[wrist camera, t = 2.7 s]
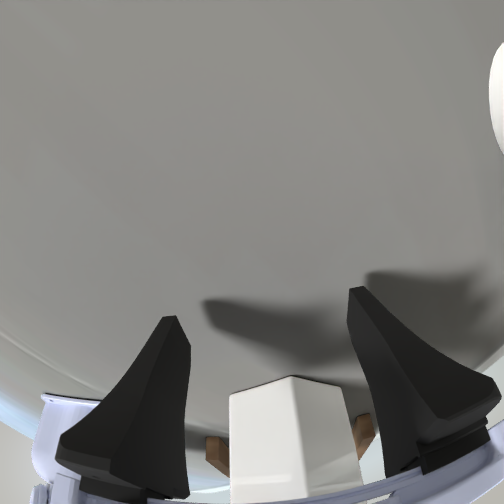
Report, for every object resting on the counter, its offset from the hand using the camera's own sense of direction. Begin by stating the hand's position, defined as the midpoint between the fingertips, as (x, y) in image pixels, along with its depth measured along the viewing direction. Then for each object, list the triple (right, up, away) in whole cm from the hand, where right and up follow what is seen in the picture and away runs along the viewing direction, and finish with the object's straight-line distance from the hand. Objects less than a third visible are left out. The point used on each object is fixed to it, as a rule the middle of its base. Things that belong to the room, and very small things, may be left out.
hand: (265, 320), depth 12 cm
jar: (+2, -8, +8) cm, 12 cm away
